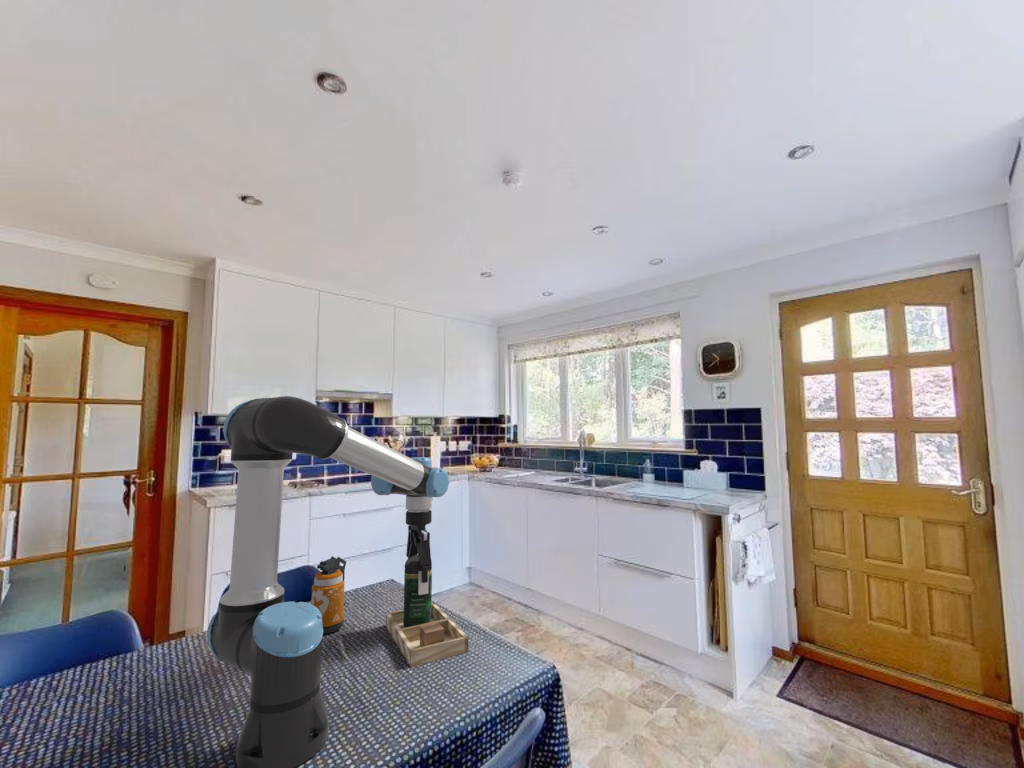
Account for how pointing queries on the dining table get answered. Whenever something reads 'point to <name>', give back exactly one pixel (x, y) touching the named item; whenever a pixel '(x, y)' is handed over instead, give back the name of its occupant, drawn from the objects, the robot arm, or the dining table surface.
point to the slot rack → (410, 638)
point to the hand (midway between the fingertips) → (417, 588)
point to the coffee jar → (415, 595)
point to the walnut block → (431, 634)
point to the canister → (330, 593)
